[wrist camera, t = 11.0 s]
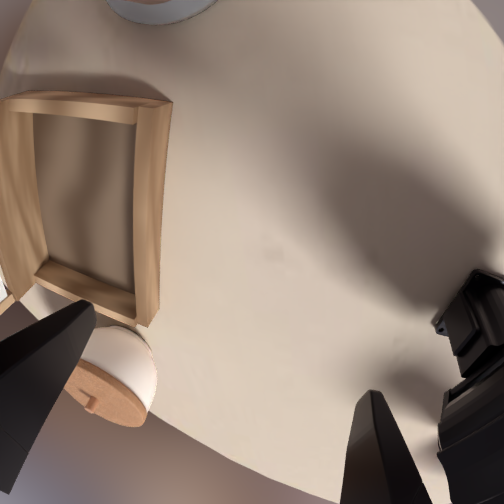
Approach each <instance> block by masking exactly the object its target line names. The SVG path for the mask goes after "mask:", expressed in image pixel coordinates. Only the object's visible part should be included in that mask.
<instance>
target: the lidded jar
mask: <svg viewBox="0 0 504 504" xmlns="http://www.w3.org/2000/svg"><path fill="white" fill-rule="evenodd" d="M156 387H157V370H156V365H155V362H154V360H153V358H152V352H151V349H150V347H149V346H148V345H147V343H146V342H145V341H144V340H143V339H142V338H141V337H140V336H138V335H137V334H136V333H134V332H132V331H131V330H129V329H127V328H124V327H121V326H116V325H113V326H109V327H99V328H95V329H94V330H93V332H92V334H91V336H90V338H89V341H88V343H87V345H86V347H85V349H84V351H83V354H82V356H81V358H80V360H79V362H78V364H77V366H76V367H75V369H74V371H73V372H72V374H71V376H70V377H69V379H68V381H67V383H66V384H65V386H64V388H65V390H66V391H67V392H68V393H69V394H70V395H71V396H72V397H73V398H75V399H76V400H77V401H78V402H79V403H81V404H82V405H83V406H85V409H86V410H87V411H88V412H89V413H92V414H93V413H95V414H97V415H99V416H101V417H103V418H105V419H107V420H109V421H111V422H114V423H117V424H120V425H123V426H128V427H138V426H141V425H142V424H143V423H144V421H145V419H146V417H147V412H148V410H149V408H150V406H151V403H152V401H153V398H154V395H155V392H156Z"/></svg>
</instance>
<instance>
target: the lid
mask: <svg viewBox="0 0 504 504" xmlns="http://www.w3.org/2000/svg"><path fill="white" fill-rule="evenodd" d="M14 302H15V300H14V297H13V295H12V293H10V292H9V291H8V290H5V288H4V285H3V282H2V279H1V276H0V315H1V314H2V313H3V312H4V311H5V310H6V309H7V308H8V307H9V306H10V305H11V304H12V303H14Z"/></svg>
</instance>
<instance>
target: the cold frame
mask: <svg viewBox="0 0 504 504" xmlns="http://www.w3.org/2000/svg"><path fill="white" fill-rule="evenodd" d="M172 106H173V102H168V101H161V100H154V99H146V98H138V97H130V96H120V95H110V94H98V93H84V92H66V91H26V92H22V93H19V94H16V95H12V96H9V97H6V98H3V99H0V265H1V268H2V271H3V275H4V277H5V280H6V283H7V286H8V289H9V292H10V293H12V295H13V297H14V299H15V300H17V301H19V300H20V298H21V297H22V296H23V295H24V294H25V293H26V292H27V291H28V290H29V289H30V288H31V287H32V286H33V285H34V284H35V283H37V284H39V285H41V286H43V287H45V288H47V289H49V290H51V291H53V292H55V293H57V294H60V295H62V296H64V297H66V298H68V299H70V300H72V301H74V302H77V301H79V300H81V299H84V300H87V301H89V302H91V303H93V305H94V309H95V311H97V312H99V313H101V314H103V315H106V316H108V317H110V318H113V319H115V320H118V321H120V322H122V323H125V324H127V325H130V326H132V327H136V325H137V324H140V325H142V326H145V327H147V328H148V326H149V324H150V323H151V321H152V320H153V318H154V316H155V315H156V313H157V312H158V310H159V282H160V246H161V225H162V208H163V193H164V180H165V169H166V158H167V148H168V139H169V130H170V121H171V113H172Z"/></svg>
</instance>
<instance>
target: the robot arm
mask: <svg viewBox="0 0 504 504" xmlns="http://www.w3.org/2000/svg"><path fill="white" fill-rule="evenodd" d="M477 275H479V276H478V277H476V276H477ZM475 277H476V278H475ZM96 321H97V320H96V314H95V309H94V305H93V303H91V302H89V301H87V300H84V299H81V300H79V301H77V302H75V303H73V304H71V305H69V306H67V307H65V308H63V309H61V310H59V311H57V312H55V313H53V314H51V315H49V316H47V317H45V318H43V319H41V320H39V321H38V322H35V323H34V324H32V325H30V326H28V327H26V328H24V329H22V330H20V331H18V332H16V333H15V334H13V335H11V336H9V337H7V338H5V339H3V340H1V341H0V491H2V492H4V493H7V494H9V493H10V492H11V490H12V487H13V485H14V483H15V481H16V479H17V476H18V474H19V472H20V470H21V468H22V466H23V464H24V462H25V460H26V458H27V455H28V452H29V451H30V449H31V447H32V445H33V443H34V441H35V439H36V437H37V435H38V433H39V432H40V429H41V428H42V426H43V424H44V422H45V420H46V418H47V416H48V415H49V413H50V411H51V409H52V407H53V405H54V404H55V402H56V400H57V398H58V396H59V395H60V393H61V391H62V390H63V388H64V386H65V384H66V383H67V381H68V379H69V377H70V376H71V374H72V372H73V371H74V369H75V367H76V366H77V364H78V362H79V360H80V358H81V356H82V354H83V351H84V349H85V347H86V345H87V343H88V341H89V338H90V336H91V334H92V332H93V330H94V328H95V326H96ZM440 328H441V329H440ZM435 331H436V333H437V334H439V335H443V336H447V337H449V340H450V344H451V348H452V351H453V355H454V356H456V357H457V361H458V365H459V369H460V373H461V377H462V378H466V379H465V380H463V381H462V382H461V383H459V384H458V385H457V386H455V387H454V388H453V389H449V390H448V391H447V392H445V393H444V399H443V407H442V414H441V421H440V423H439V424H438V446H439V450H440V451H439V452H437V457H438V459H439V460H440V462H441V464H442V465H443V467H444V470H445V473H446V476H447V480H448V485H449V492H450V500H451V502H452V503H453V504H504V279H502V278H500V277H497V276H495V275H492V274H490V273H487V272H485V271H482V270H480V269H476V270H474V271H473V272H472V273H471V274H470V276H469V278H468V279H467V281H466V282H465V284H464V285H463V287H462V288H461V290H460V291H459V293H458V294H457V296H456V297H455V299H454V300H453V302H452V303H451V305H450V306H449V307H448V309H447V310H446V312H445V313H444V315H443V316H442V317H441V319H440V320H439V322H438V323H437V324H436V326H435ZM340 504H432V501H431V499H430V497H429V495H428V493H427V490H426V488H425V486H424V483H422V479H421V476H420V474H419V472H418V470H417V467H416V465H415V463H414V461H413V458H412V456H411V454H410V452H409V449H408V447H407V445H406V443H405V441H404V438H403V436H402V434H401V432H400V430H399V428H398V425H397V423H396V421H395V419H394V417H393V415H392V413H391V411H390V408H389V406H388V404H387V402H386V400H385V398H384V396H383V394H382V393H381V392H380V391H376V390H368V391H367V392H366V393H365V394H364V395H363V396H362V398H361V399H360V400H359V401H358V402H357V404H356V407H355V411H354V416H353V422H352V426H351V431H350V436H349V441H348V446H347V451H346V460H345V469H344V477H343V484H342V492H341V499H340Z"/></svg>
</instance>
